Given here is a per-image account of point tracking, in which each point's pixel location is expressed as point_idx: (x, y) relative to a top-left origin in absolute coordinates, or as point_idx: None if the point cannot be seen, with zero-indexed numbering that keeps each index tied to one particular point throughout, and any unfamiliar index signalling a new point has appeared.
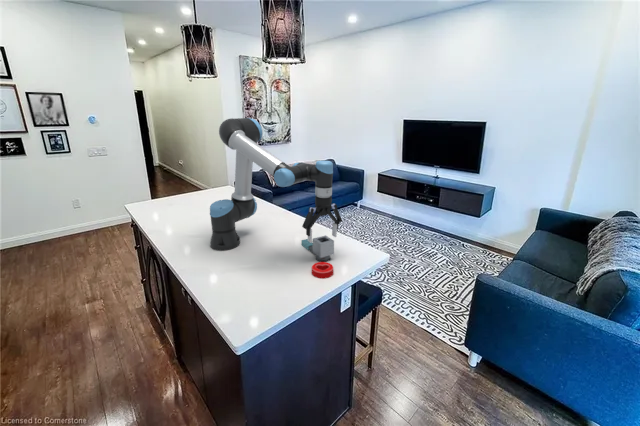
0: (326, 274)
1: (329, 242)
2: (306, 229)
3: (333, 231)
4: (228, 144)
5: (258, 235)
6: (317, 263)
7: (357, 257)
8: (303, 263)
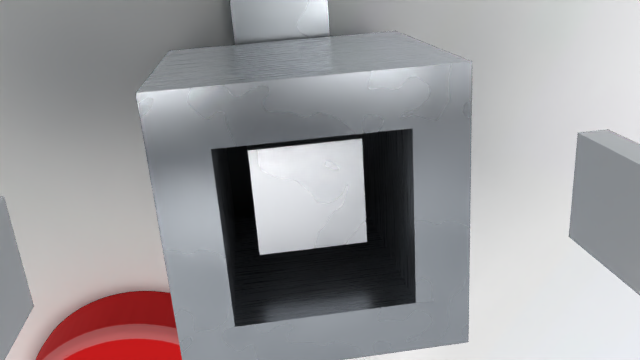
0: None
1: (370, 349)
2: None
3: (636, 213)
4: None
5: None
6: (111, 356)
7: None
8: (5, 143)
